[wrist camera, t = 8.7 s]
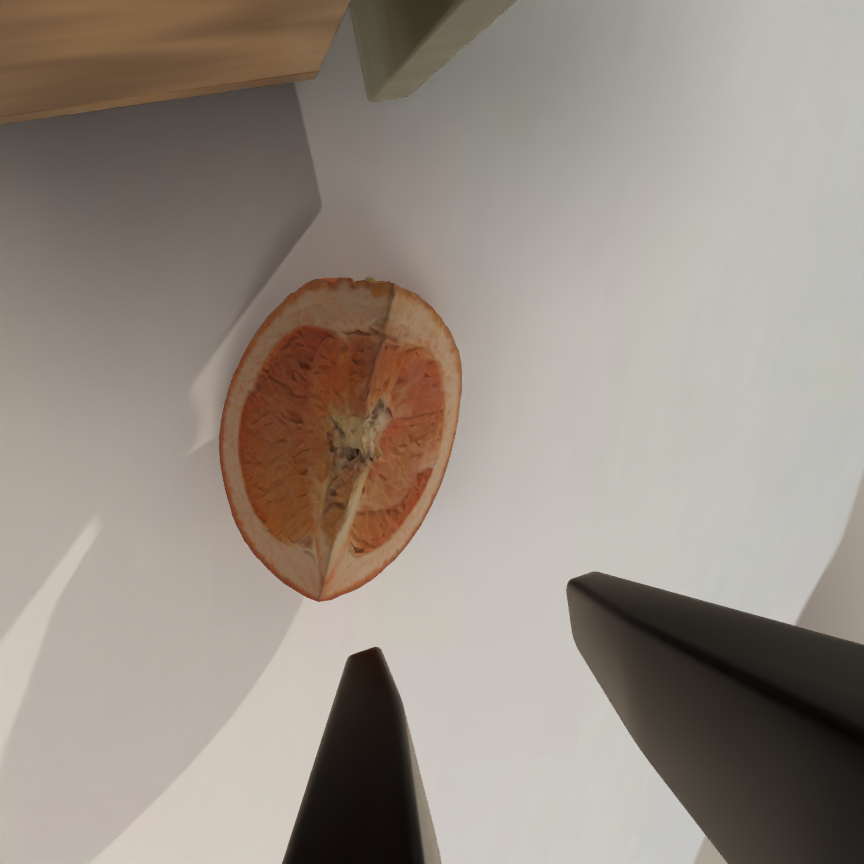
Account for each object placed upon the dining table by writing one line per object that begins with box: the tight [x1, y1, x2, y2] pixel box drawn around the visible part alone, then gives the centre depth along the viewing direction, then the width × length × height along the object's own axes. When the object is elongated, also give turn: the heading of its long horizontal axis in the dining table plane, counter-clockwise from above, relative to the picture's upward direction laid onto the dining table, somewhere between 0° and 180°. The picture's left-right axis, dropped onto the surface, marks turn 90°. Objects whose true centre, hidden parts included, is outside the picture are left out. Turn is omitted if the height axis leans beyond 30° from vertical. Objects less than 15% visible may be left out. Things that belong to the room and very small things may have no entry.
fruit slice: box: [219, 277, 462, 602], centre depth 18 cm, size 8×7×5 cm
